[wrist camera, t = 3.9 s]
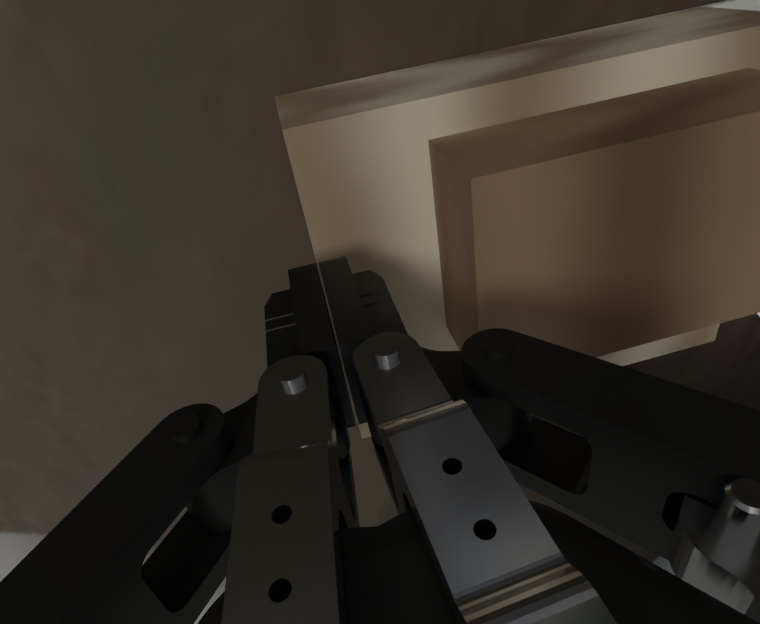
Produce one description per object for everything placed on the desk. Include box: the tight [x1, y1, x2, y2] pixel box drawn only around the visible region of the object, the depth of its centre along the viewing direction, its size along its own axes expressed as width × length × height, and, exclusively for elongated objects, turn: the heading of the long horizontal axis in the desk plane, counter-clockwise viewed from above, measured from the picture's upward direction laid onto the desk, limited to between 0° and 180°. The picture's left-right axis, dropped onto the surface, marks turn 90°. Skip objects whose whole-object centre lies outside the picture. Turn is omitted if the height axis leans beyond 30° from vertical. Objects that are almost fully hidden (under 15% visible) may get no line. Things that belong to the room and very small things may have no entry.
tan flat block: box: [274, 7, 760, 439], centre depth 17 cm, size 14×11×4 cm
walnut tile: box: [428, 68, 760, 357], centre depth 14 cm, size 9×6×3 cm, turn 99°
